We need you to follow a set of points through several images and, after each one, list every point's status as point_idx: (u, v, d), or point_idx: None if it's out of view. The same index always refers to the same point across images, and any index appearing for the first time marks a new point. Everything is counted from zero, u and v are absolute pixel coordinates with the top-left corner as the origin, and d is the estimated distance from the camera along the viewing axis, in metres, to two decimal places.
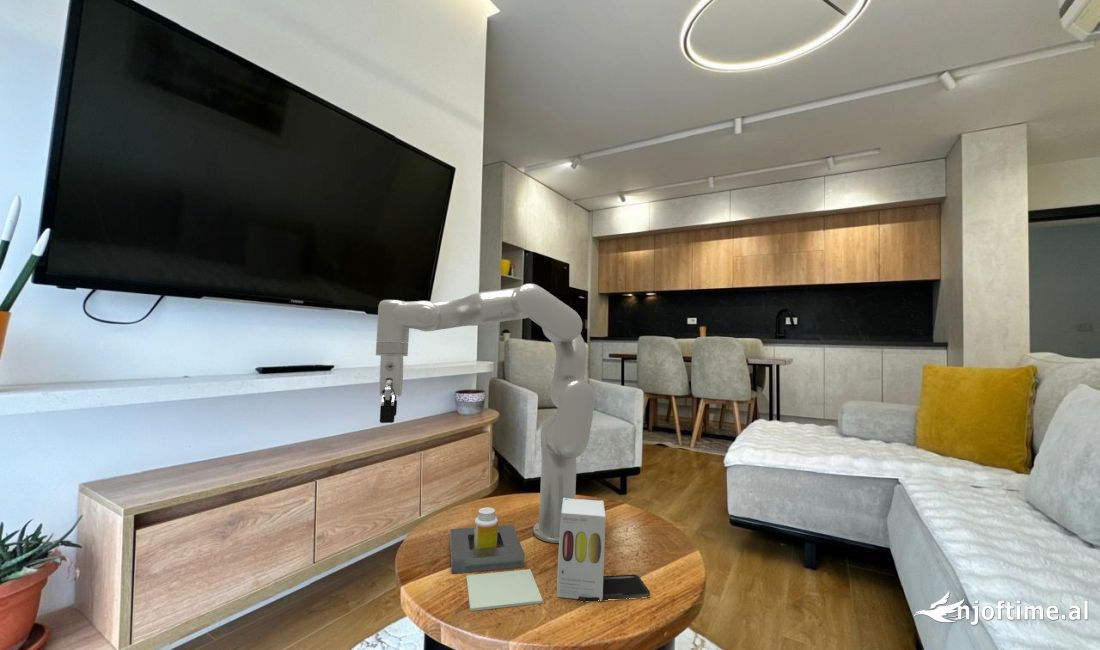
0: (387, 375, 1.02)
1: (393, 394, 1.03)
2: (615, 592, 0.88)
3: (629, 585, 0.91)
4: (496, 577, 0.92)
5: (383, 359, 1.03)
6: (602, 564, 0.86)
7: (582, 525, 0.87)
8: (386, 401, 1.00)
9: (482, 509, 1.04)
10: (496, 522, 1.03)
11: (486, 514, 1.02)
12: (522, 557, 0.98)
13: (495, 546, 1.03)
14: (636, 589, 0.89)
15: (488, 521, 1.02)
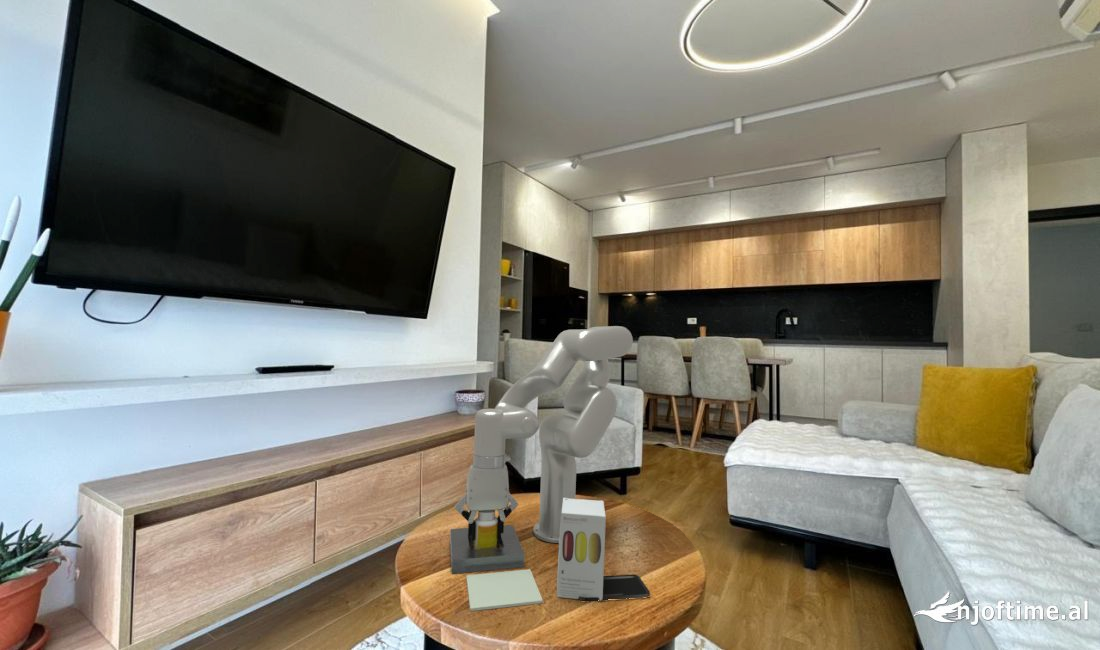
0: None
1: None
2: (615, 592, 0.88)
3: (629, 585, 0.91)
4: (496, 577, 0.92)
5: (506, 471, 1.04)
6: (602, 564, 0.86)
7: (582, 525, 0.87)
8: None
9: None
10: (496, 522, 1.03)
11: (486, 514, 1.02)
12: (522, 557, 0.98)
13: (495, 546, 1.03)
14: (636, 589, 0.89)
15: (488, 521, 1.02)
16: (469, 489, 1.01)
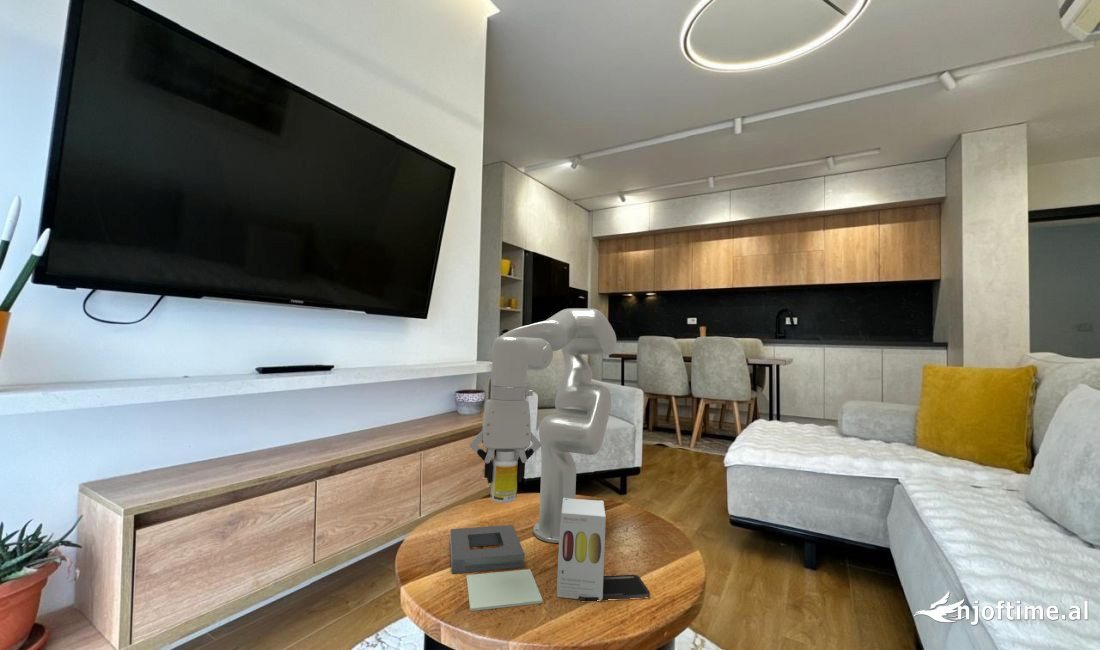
0: (530, 423, 0.92)
1: None
2: (615, 592, 0.88)
3: (629, 585, 0.91)
4: (496, 577, 0.92)
5: (528, 406, 0.91)
6: (602, 564, 0.86)
7: (582, 525, 0.87)
8: None
9: (500, 449, 0.92)
10: (516, 463, 0.90)
11: (505, 453, 0.89)
12: (522, 557, 0.98)
13: (515, 490, 0.90)
14: (636, 589, 0.89)
15: (507, 461, 0.89)
16: (486, 424, 0.89)
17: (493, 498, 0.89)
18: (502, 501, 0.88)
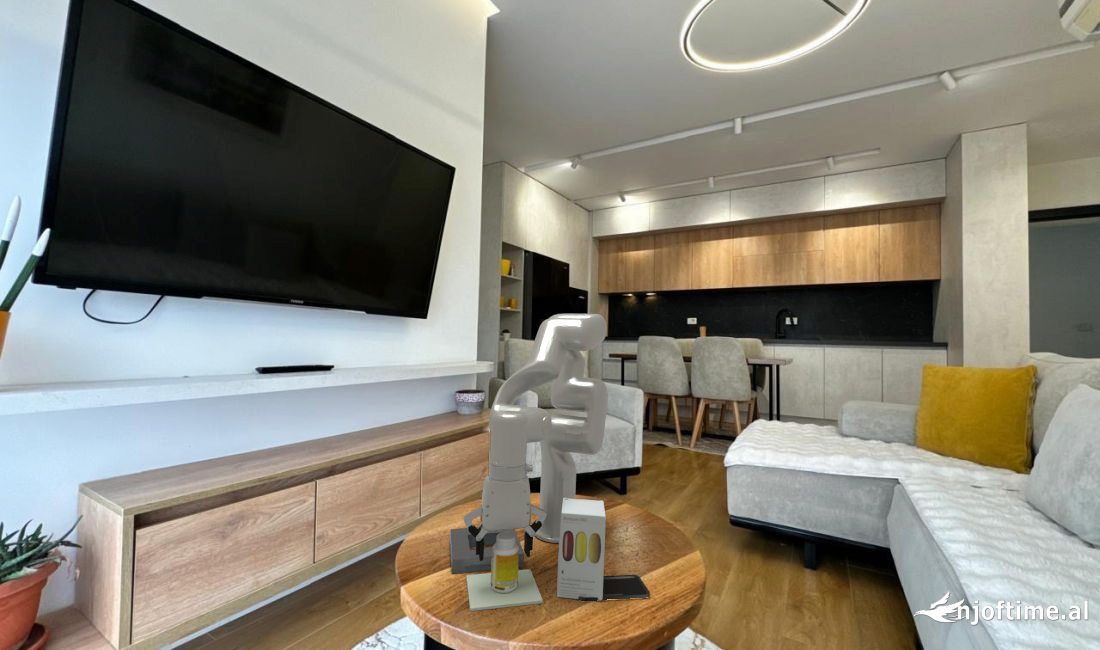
0: None
1: None
2: (615, 592, 0.88)
3: (629, 585, 0.91)
4: None
5: (528, 484, 0.89)
6: (602, 564, 0.86)
7: (582, 525, 0.87)
8: None
9: (501, 534, 0.90)
10: (517, 550, 0.88)
11: (505, 540, 0.87)
12: (522, 557, 0.98)
13: (516, 578, 0.88)
14: (636, 589, 0.89)
15: (508, 549, 0.87)
16: (485, 505, 0.86)
17: (494, 588, 0.87)
18: (503, 591, 0.86)
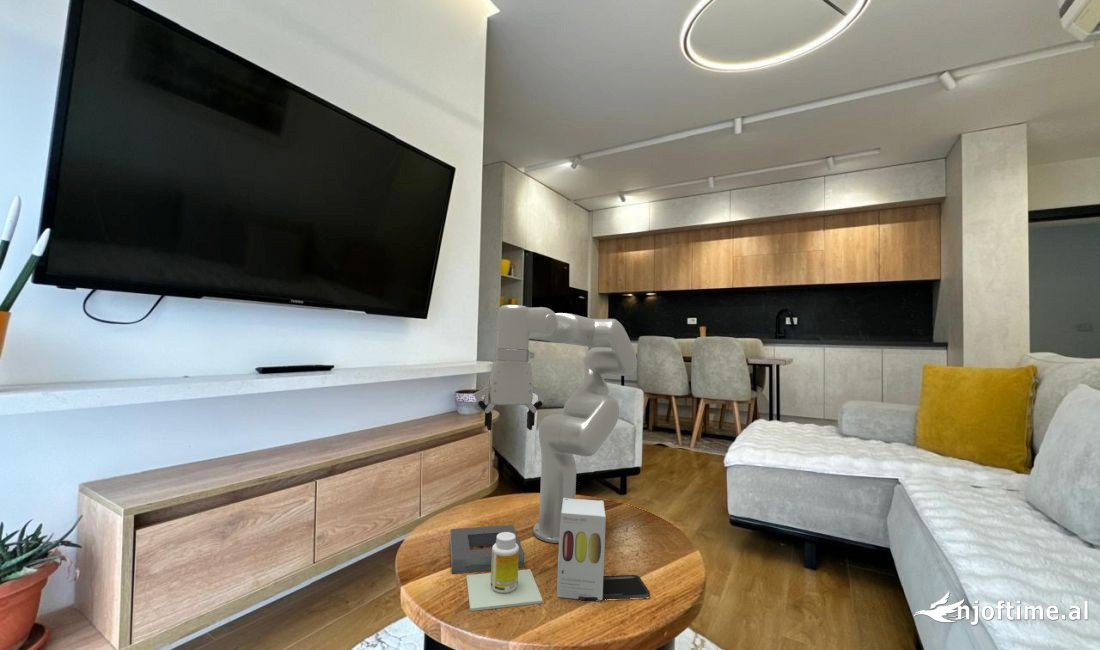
0: None
1: None
2: (615, 592, 0.88)
3: (629, 585, 0.91)
4: None
5: (530, 367, 1.02)
6: (602, 564, 0.86)
7: (582, 525, 0.87)
8: None
9: (501, 534, 0.90)
10: (517, 550, 0.88)
11: (505, 540, 0.87)
12: (522, 557, 0.98)
13: (516, 578, 0.88)
14: (636, 589, 0.89)
15: (508, 549, 0.87)
16: (493, 382, 1.00)
17: (494, 588, 0.87)
18: (503, 591, 0.86)
